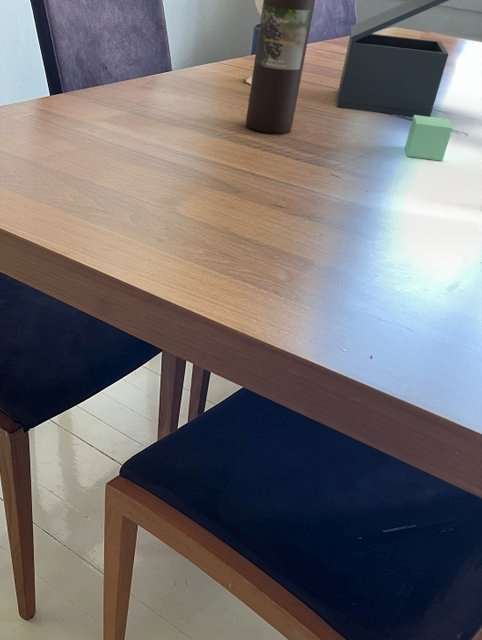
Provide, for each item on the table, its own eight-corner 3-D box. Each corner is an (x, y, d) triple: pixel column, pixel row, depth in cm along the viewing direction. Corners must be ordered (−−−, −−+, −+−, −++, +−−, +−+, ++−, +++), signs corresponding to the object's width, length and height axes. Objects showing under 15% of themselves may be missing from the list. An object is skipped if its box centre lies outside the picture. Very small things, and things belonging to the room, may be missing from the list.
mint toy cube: (439, 151, 108) (449, 119, 105) (442, 161, 104) (452, 127, 101) (404, 146, 109) (413, 114, 106) (406, 156, 105) (416, 123, 102)
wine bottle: (236, 126, 111) (271, -124, 93) (261, 119, 116) (299, -121, 97) (275, 137, 108) (319, -120, 89) (299, 129, 112) (346, -117, 94)
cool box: (424, 102, 133) (441, 41, 127) (429, 118, 124) (448, 54, 118) (338, 91, 135) (351, 31, 129) (337, 106, 126) (351, 42, 120)
